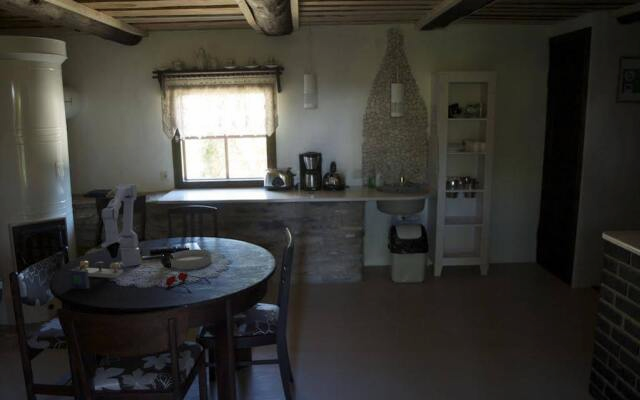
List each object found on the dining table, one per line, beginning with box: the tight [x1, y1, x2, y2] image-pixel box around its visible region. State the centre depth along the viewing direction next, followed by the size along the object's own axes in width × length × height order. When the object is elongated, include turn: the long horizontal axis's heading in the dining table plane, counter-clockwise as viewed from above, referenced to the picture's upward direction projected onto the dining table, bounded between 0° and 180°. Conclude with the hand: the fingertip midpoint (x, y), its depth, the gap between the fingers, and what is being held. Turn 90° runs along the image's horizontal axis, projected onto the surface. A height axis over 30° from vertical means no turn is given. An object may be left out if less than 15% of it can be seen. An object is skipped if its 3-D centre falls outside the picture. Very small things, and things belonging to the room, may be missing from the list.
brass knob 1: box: [79, 260, 90, 269], centre depth 260 cm, size 4×4×4 cm
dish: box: [169, 248, 212, 270], centre depth 275 cm, size 22×22×5 cm
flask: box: [70, 265, 90, 291], centre depth 238 cm, size 9×3×11 cm, turn 74°
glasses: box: [164, 271, 212, 294], centre depth 239 cm, size 14×16×5 cm
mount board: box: [82, 267, 124, 279], centre depth 259 cm, size 22×7×2 cm, turn 76°
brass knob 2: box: [110, 261, 120, 271], centre depth 256 cm, size 4×4×4 cm
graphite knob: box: [94, 260, 105, 270], centre depth 258 cm, size 4×4×4 cm
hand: (114, 257), depth 255 cm, fingers closed
